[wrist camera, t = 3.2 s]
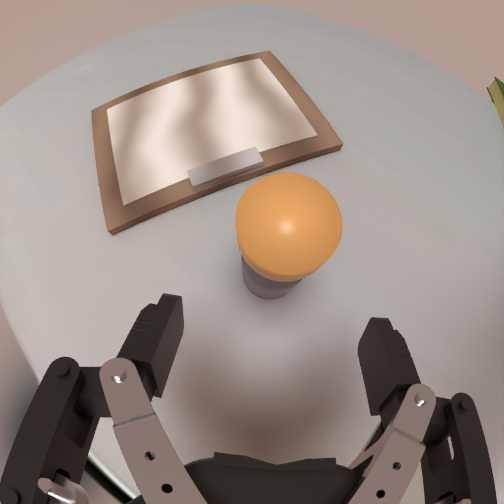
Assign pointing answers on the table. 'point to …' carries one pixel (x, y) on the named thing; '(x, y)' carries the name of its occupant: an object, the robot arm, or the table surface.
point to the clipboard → (202, 135)
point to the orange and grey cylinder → (285, 232)
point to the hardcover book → (497, 96)
